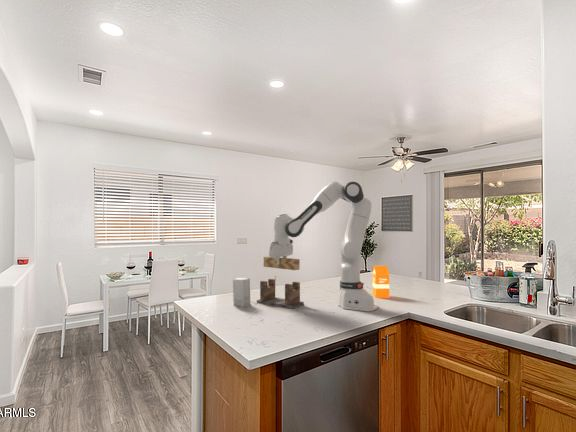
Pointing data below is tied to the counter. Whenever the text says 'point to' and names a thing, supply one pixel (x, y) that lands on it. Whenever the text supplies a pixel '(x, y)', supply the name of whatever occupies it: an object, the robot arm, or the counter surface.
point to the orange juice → (380, 282)
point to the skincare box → (241, 291)
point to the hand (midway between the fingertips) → (281, 264)
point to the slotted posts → (289, 302)
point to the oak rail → (282, 263)
